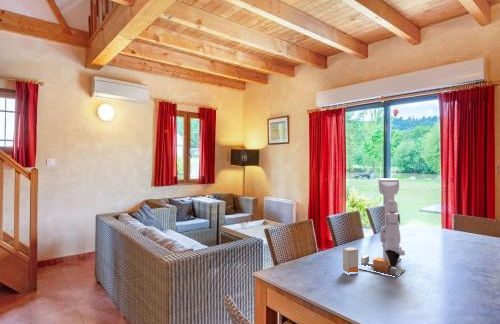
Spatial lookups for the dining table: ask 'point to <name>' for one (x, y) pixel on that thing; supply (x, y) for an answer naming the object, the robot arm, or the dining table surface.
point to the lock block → (381, 263)
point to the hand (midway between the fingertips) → (393, 266)
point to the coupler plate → (391, 270)
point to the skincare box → (350, 259)
